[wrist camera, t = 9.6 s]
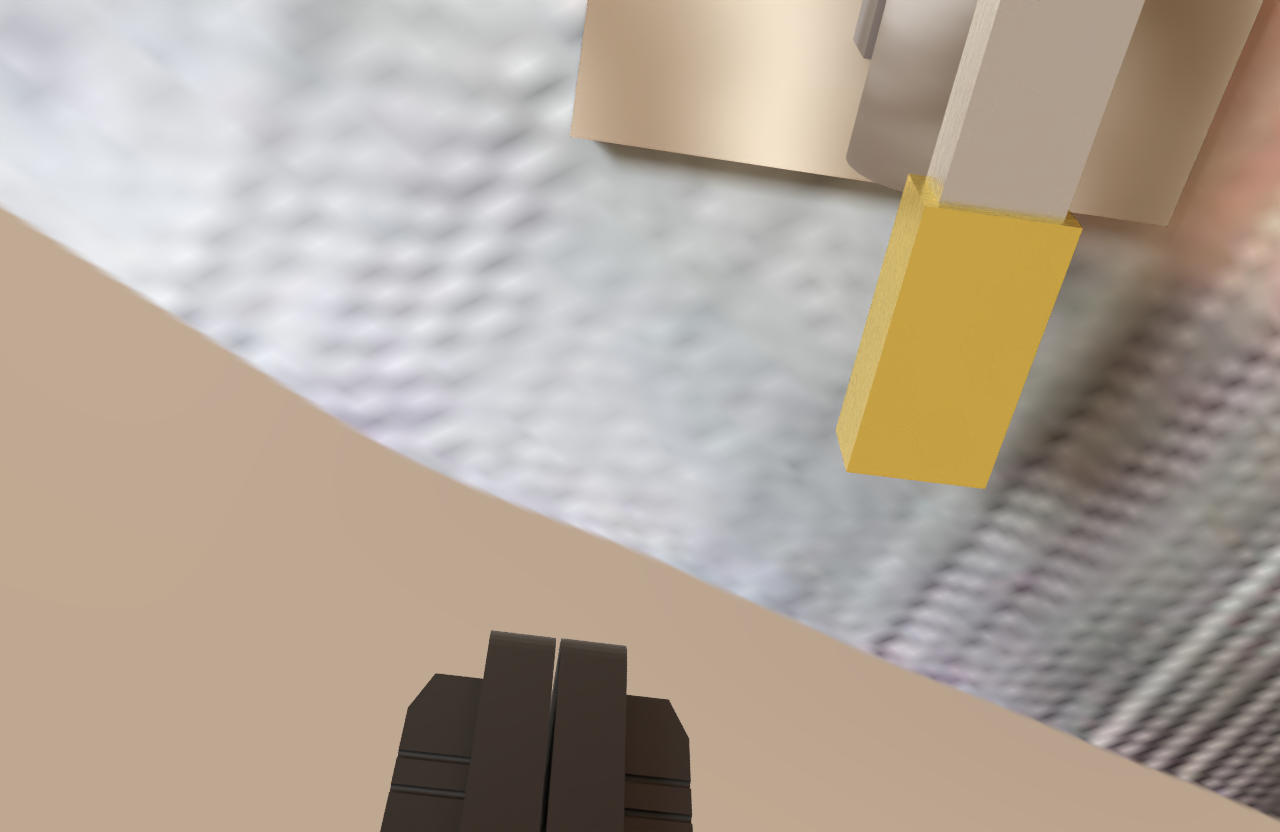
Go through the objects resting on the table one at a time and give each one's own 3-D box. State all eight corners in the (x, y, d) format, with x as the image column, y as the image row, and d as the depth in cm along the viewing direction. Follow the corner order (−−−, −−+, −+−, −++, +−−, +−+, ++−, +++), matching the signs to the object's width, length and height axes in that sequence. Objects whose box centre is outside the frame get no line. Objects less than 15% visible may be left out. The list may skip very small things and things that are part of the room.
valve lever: (1050, -406, 19) (1108, -413, 17) (1228, -373, 20) (1309, -376, 17) (828, 401, 28) (846, 472, 25) (955, 417, 28) (985, 489, 25)
